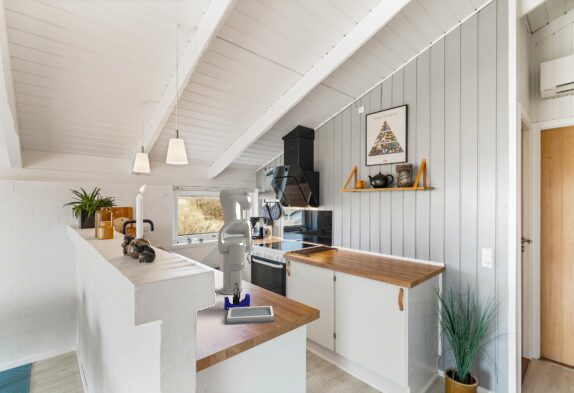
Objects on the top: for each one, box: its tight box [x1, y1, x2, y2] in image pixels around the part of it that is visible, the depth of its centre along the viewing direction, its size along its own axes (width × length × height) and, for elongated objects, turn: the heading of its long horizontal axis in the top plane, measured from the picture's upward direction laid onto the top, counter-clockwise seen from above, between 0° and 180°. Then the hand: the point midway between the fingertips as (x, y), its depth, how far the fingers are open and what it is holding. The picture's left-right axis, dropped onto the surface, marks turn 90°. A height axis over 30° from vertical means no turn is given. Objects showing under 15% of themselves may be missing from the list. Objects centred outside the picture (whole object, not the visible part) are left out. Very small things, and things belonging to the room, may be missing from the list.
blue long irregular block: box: [223, 293, 251, 312], centre depth 137 cm, size 12×4×6 cm, turn 115°
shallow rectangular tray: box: [226, 305, 275, 325], centre depth 127 cm, size 14×20×2 cm
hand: (236, 301), depth 138 cm, fingers open, 9 cm apart
